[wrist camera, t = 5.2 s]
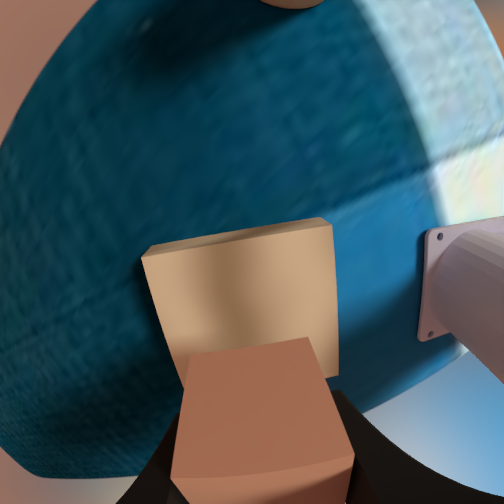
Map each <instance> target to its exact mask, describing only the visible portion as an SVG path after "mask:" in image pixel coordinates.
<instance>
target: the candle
mask: <svg viewBox="0 0 504 504" xmlns="http://www.w3.org/2000/svg"><path fill="white" fill-rule="evenodd" d="M260 1H262V2H265V3H267V4H270V5H273V6H276V7H281V8H287V9H302V8H309V7H313V6H315V5H318V4H320V3H321V2H323V1H324V0H260Z"/></svg>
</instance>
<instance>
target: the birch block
mask: <svg viewBox="0 0 504 504" xmlns="http://www.w3.org/2000/svg"><path fill="white" fill-rule="evenodd" d="M141 259H142V263H143V266H144V270H145V274H146V277H147V281H148V284H149V288H150V291H151V294H152V298H153V301H154V304H155V308H156V311H157V314H158V317H159V320H160V323H161V326H162V329H163V332H164V335H165V338H166V341H167V344H168V347H169V350H170V353H171V355H172V358H173V361H174V364H175V366H176V369H177V372H178V374H179V377H180V380H181V382H182V385H183V387H184V389H185V383H186V378H187V372H188V367H189V361H190V356H191V354H199V353H208V352H216V351H224V350H231V349H238V348H245V347H251V346H258V345H264V344H270V343H276V342H282V341H287V340H293V339H298V338H303V337H308V338H309V340H310V343H311V345H312V348H313V350H314V353H315V355H316V357H317V360H318V362H319V365H320V367H321V370H322V372H323V375H324V377H325V378H329V377H333V376H337V375H339V347H338V309H337V288H336V271H335V256H334V243H333V232H332V225H331V224H330V223H328V222H327V221H325V220H324V219H322V218H321V217H317V218H311V219H304V220H298V221H292V222H285V223H279V224H273V225H267V226H261V227H255V228H249V229H243V230H237V231H231V232H226V233H220V234H214V235H208V236H203V237H197V238H191V239H186V240H180V241H175V242H170V243H164V244H159V245H153V246H151V247H150V248H149V249H148V250H147V252H146V253H145V254H144V255H143V256H142V257H141Z"/></svg>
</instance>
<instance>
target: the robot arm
mask: <svg viewBox="0 0 504 504" xmlns="http://www.w3.org/2000/svg"><path fill="white" fill-rule="evenodd" d="M439 233H440V236H439V238H438V239H437V235H438V234H439ZM429 332H430V333H429ZM449 332H450V333H451V334H453V335H454V336H455V337H456V338H457V339H458V340H459V341H460V342H461V343H462V344H463V345H464V346H465V347H466V348H467V349H469V350H470V351H471V352H472V353H473V354H474V355H475V356H476V357H477V358H478V359H479V360H480V361H481V362H482V363H483V364H484V365H485V366H486V367H487V368H489V370H490V371H491V372H492V373H493V374H494V375H495V376H496V377H497V378H498V379H499V380H500V381H501V382H502V383H503V384H504V216H500V217H495V218H489V219H483V220H477V221H472V222H466V223H460V224H454V225H449V226H443V227H437V228H431V229H429V230H428V231H427V232H426V234H425V252H424V273H423V288H422V299H421V309H420V318H419V326H418V333H417V338H418V339H419V340H420V341H421V342H424V341H427V340H430V339H433V338H436V337H439V336H441V335H444V334H447V333H449ZM331 395H332V397H333V400H334V402H335V405H336V407H337V410H338V412H339V415H340V418H341V420H342V423H343V425H344V428H345V430H346V433H347V436H348V438H349V441H350V443H351V446H352V448H353V451H354V454H355V455H354V461H353V467H352V472H351V477H350V482H349V487H348V491H347V496H346V500H345V503H346V504H504V497H502V496H498V495H493V494H490V493H486V492H483V491H479V490H476V489H474V488H471V487H468V486H465V485H462V484H460V483H458V482H456V481H454V480H452V479H449V478H447V477H445V476H443V475H441V474H439V473H437V472H435V471H433V470H432V469H430V468H428V467H426V466H424V465H423V464H422V463H420V462H418V461H417V460H415V459H414V458H412V457H411V456H409V455H408V454H407V453H405V452H404V451H402V450H401V449H400V448H399V447H397V446H396V445H395V444H394V443H392V442H391V441H390V440H389V439H388V438H386V437H385V436H384V435H383V434H382V433H381V432H380V431H379V430H378V429H376V428H375V427H374V426H373V425H372V424H371V423H370V422H369V421H368V420H367V419H366V418H365V417H364V416H363V415H362V414H361V413H360V412H359V411H358V410H357V409H356V407H355V406H354V405H353V404H352V403H351V402H350V401H349V399H348V398H347V397H346V396H345V395H344V393H343V392H342V391H340V390H335V391H331ZM179 418H180V413H177V414H176V415H175V417H174V419H173V421H172V423H171V424H170V426H169V428H168V430H167V432H166V434H165V435H164V437H163V439H162V440H161V442H160V444H159V446H158V447H157V449H156V450H155V452H154V454H153V455H152V457H151V458H150V460H149V462H148V463H147V465H146V466H145V467H144V469H143V470H142V472H141V473H140V474H139V476H138V477H137V479H136V480H135V481H134V483H133V484H132V485H131V486H130V488H129V489H128V490H127V491H126V493H125V494H124V495H123V496H122V497H121V498H120V499H119V500H118V502H117V503H116V504H190V503H189V502H188V501H187V500H186V498H185V497H184V496H183V494H182V493H181V492H180V491H179V489H178V488H177V487H176V485H175V484H174V483H173V481H172V480H171V478H170V477H171V469H172V463H173V456H174V449H175V443H176V436H177V430H178V424H179Z"/></svg>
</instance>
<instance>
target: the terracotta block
mask: <svg viewBox="0 0 504 504" xmlns="http://www.w3.org/2000/svg"><path fill="white" fill-rule="evenodd" d="M354 455H355V454H354V451H353V448H352V446H351V443H350V441H349V438H348V436H347V433H346V430H345V428H344V425H343V423H342V420H341V418H340V415H339V412H338V410H337V407H336V405H335V402H334V400H333V397H332V395H331V392H330V390H329V387H328V385H327V382H326V380H325V377H324V375H323V372H322V370H321V367H320V365H319V362H318V360H317V357H316V355H315V353H314V350H313V348H312V345H311V343H310V340H309V338H308V337H303V338H298V339H293V340H287V341H282V342H276V343H270V344H264V345H258V346H251V347H245V348H238V349H231V350H224V351H216V352H208V353H199V354H191V356H190V361H189V367H188V372H187V378H186V383H185V389H184V394H183V400H182V406H181V412H180V418H179V424H178V430H177V436H176V443H175V449H174V456H173V463H172V469H171V477H170V478H171V480H172V481H173V483H174V484H175V485H176V487H177V488H178V489H179V491H180V492H181V493H182V494H183V496H184V497H185V498H186V500H187V501H188V502H189V503H190V504H345V500H346V496H347V491H348V487H349V482H350V477H351V472H352V467H353V461H354Z"/></svg>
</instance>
